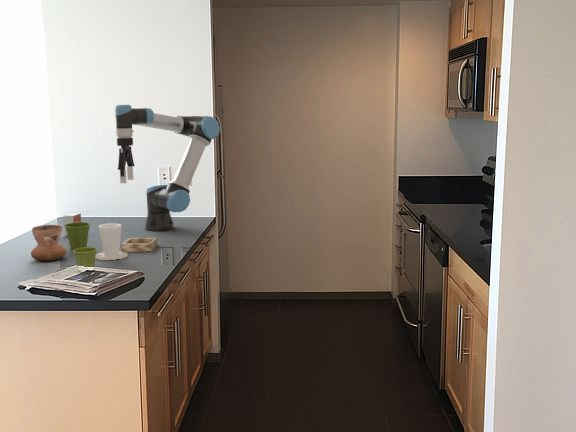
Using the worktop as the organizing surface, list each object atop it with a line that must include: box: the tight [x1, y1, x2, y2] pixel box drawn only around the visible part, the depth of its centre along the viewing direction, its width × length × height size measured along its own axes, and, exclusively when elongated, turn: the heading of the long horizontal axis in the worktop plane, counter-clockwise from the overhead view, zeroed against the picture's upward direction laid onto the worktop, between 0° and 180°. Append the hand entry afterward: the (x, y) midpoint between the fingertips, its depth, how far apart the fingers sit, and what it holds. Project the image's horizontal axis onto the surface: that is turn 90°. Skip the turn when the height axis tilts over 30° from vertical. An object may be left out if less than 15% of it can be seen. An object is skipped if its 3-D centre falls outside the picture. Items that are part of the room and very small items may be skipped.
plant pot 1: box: [63, 221, 91, 250], centre depth 311 cm, size 12×12×11 cm
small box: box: [62, 212, 82, 237], centre depth 342 cm, size 8×6×10 cm
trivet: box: [95, 250, 129, 261], centre depth 293 cm, size 14×14×1 cm
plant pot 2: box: [72, 246, 98, 268], centre depth 270 cm, size 9×9×9 cm
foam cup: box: [98, 223, 122, 256], centre depth 292 cm, size 10×9×13 cm
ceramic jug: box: [30, 224, 67, 262], centre depth 290 cm, size 18×14×14 cm
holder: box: [120, 237, 158, 253], centre depth 309 cm, size 13×13×4 cm
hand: (127, 181), depth 324 cm, fingers open, 13 cm apart
